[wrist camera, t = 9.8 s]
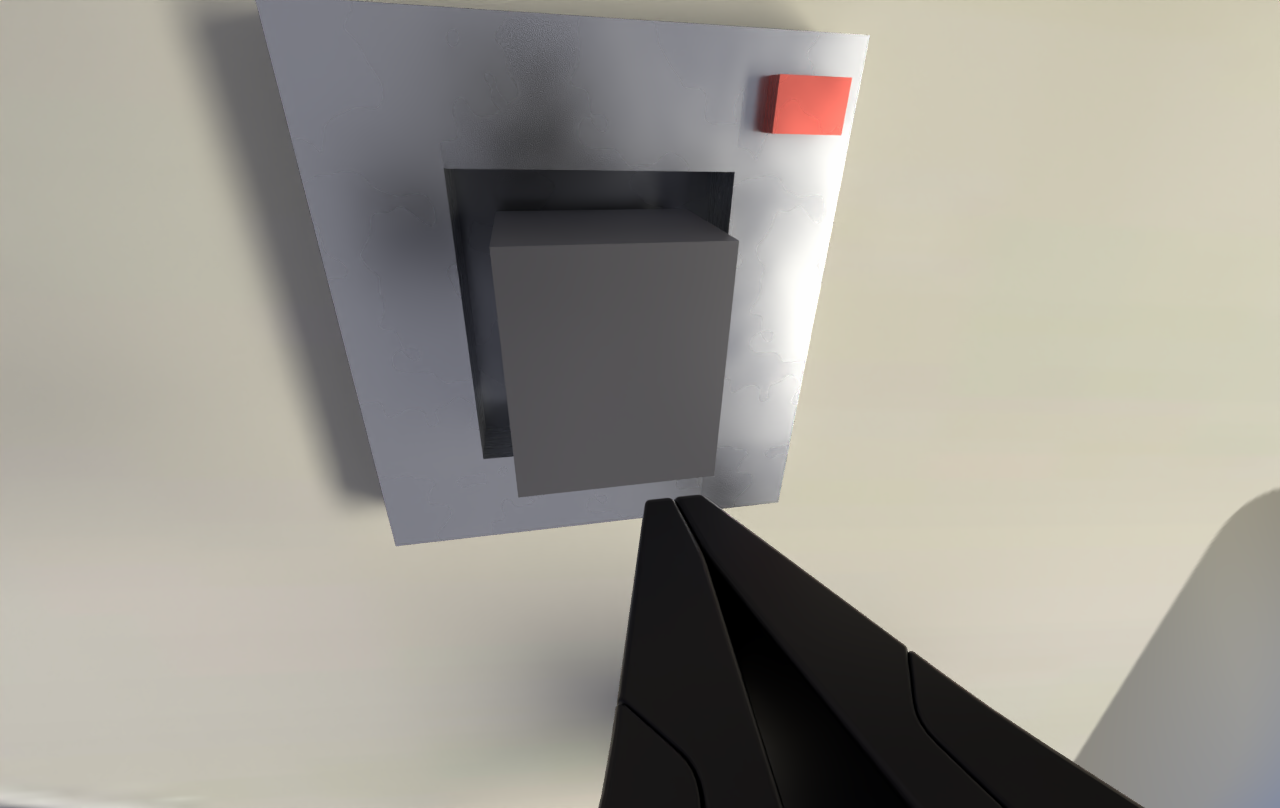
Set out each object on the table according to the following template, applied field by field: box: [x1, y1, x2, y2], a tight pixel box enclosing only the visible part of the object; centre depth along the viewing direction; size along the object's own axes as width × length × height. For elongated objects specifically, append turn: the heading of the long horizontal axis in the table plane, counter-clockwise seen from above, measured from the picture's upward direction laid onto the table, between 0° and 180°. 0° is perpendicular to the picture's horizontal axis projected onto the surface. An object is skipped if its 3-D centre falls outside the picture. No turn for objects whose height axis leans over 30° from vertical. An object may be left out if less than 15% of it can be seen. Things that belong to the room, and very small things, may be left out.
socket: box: [256, 0, 870, 546], centre depth 15 cm, size 14×13×3 cm
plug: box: [489, 209, 739, 497], centre depth 14 cm, size 6×5×5 cm
